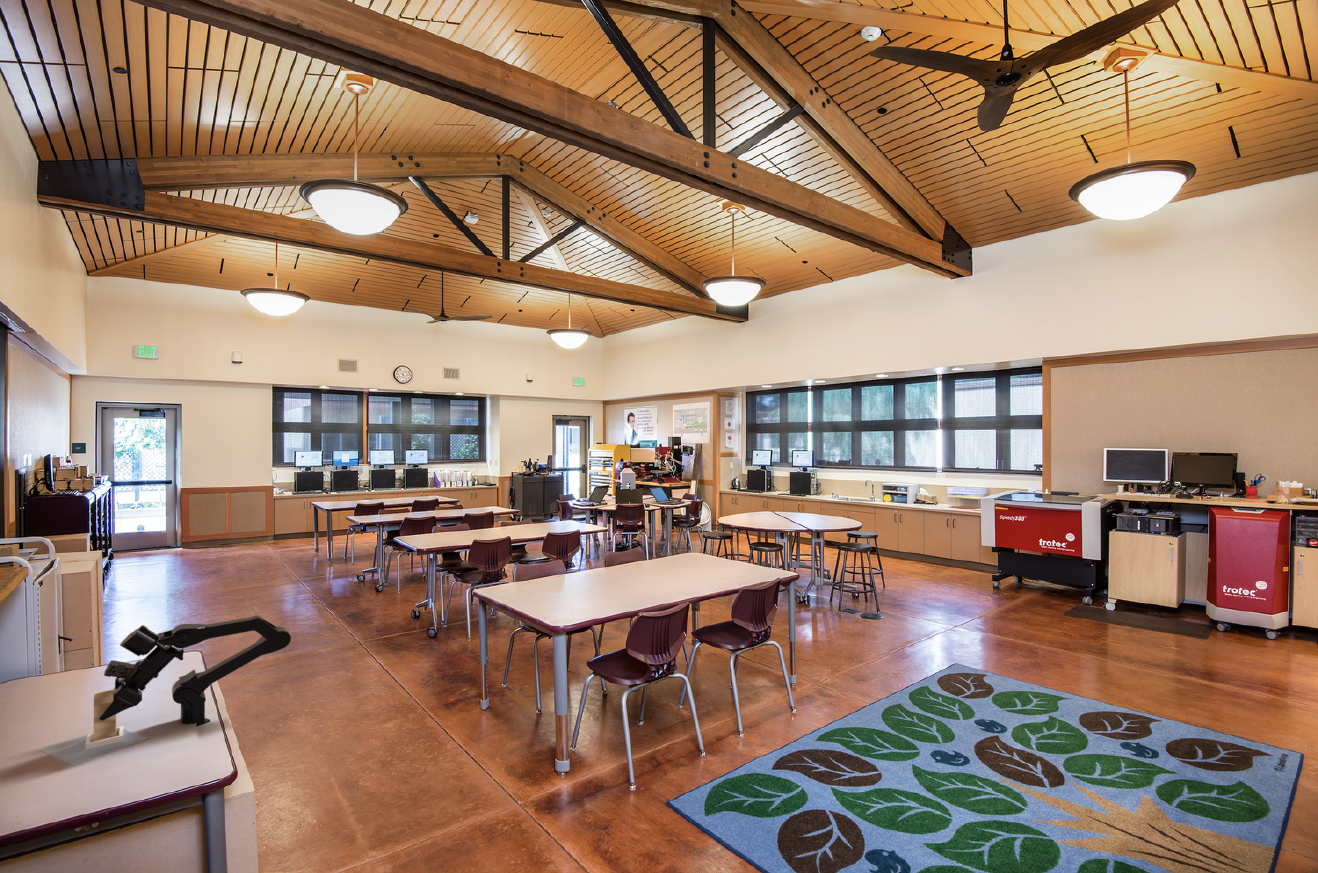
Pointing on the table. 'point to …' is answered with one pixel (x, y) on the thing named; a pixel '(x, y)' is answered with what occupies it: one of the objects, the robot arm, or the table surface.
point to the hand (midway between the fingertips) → (101, 714)
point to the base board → (77, 754)
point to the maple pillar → (101, 714)
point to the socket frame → (104, 741)
